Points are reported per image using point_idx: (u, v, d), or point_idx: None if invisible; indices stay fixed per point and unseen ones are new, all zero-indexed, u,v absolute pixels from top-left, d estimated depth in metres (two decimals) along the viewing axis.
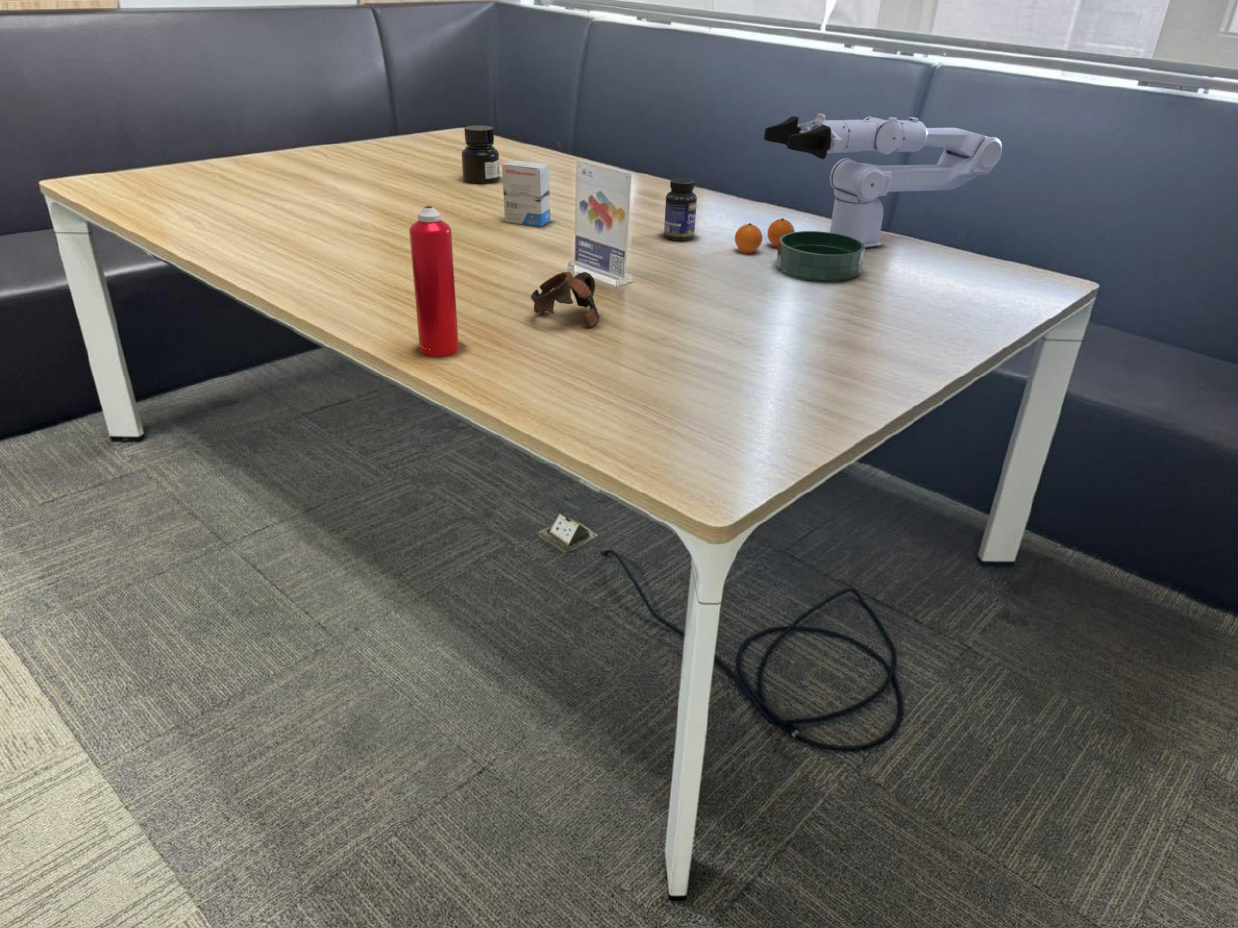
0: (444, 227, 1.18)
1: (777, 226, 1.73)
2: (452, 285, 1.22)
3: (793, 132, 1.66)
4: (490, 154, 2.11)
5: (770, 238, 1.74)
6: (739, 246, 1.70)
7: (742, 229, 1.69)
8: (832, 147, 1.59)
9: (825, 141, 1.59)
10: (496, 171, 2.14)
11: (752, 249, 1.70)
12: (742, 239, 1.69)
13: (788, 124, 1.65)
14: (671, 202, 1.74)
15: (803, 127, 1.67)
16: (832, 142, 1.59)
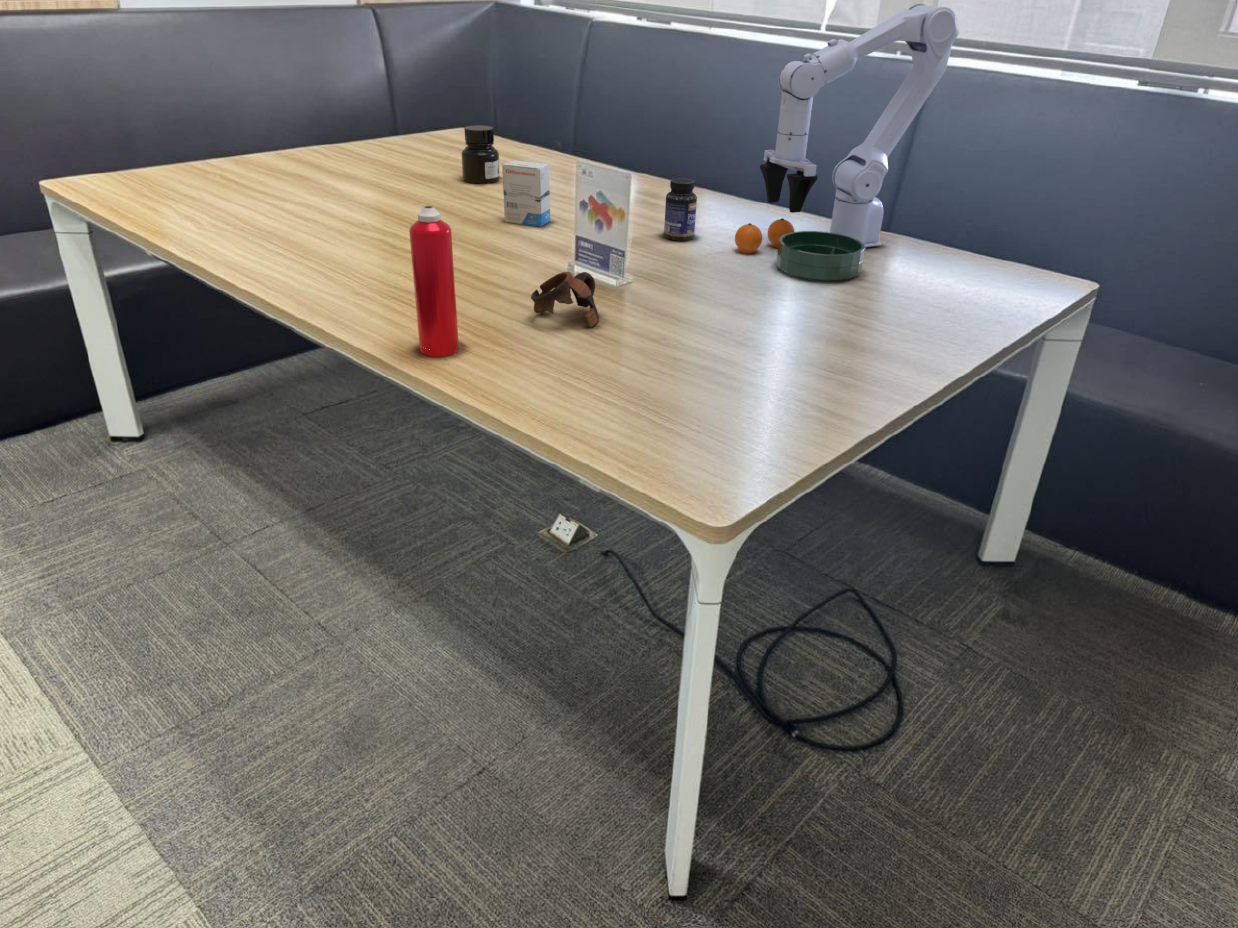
0: (444, 227, 1.18)
1: (777, 226, 1.73)
2: (452, 285, 1.22)
3: (775, 171, 1.72)
4: (490, 154, 2.11)
5: (770, 238, 1.74)
6: (739, 246, 1.70)
7: (742, 229, 1.69)
8: (811, 175, 1.63)
9: (803, 179, 1.64)
10: (496, 171, 2.14)
11: (752, 249, 1.70)
12: (742, 239, 1.69)
13: (768, 178, 1.72)
14: (671, 202, 1.74)
15: None
16: None
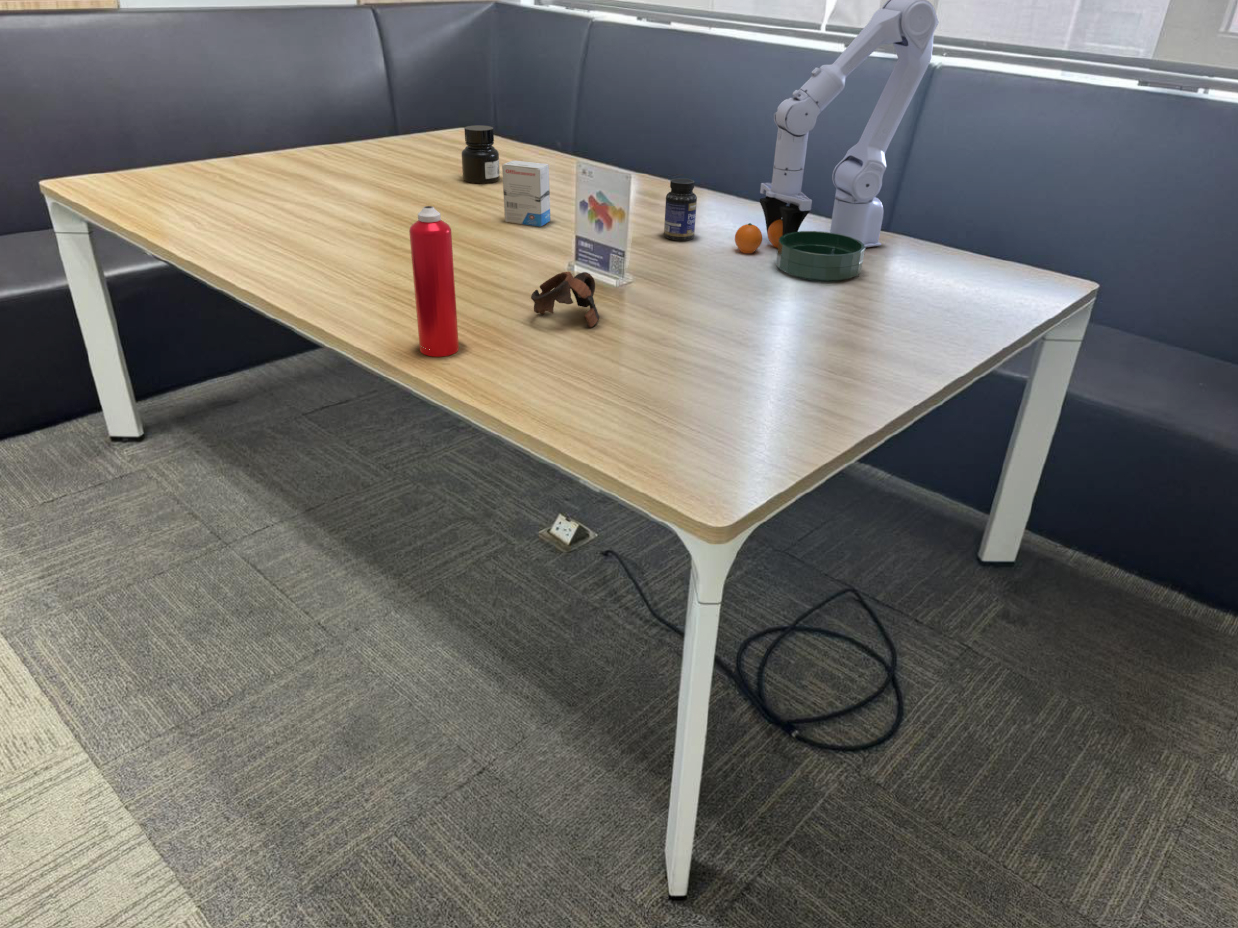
0: (444, 227, 1.18)
1: (777, 226, 1.73)
2: (452, 285, 1.22)
3: (775, 205, 1.74)
4: (490, 154, 2.11)
5: (770, 238, 1.74)
6: (739, 246, 1.70)
7: (742, 229, 1.69)
8: None
9: None
10: (496, 171, 2.14)
11: (752, 249, 1.70)
12: (742, 239, 1.69)
13: (768, 212, 1.74)
14: (671, 202, 1.74)
15: None
16: None
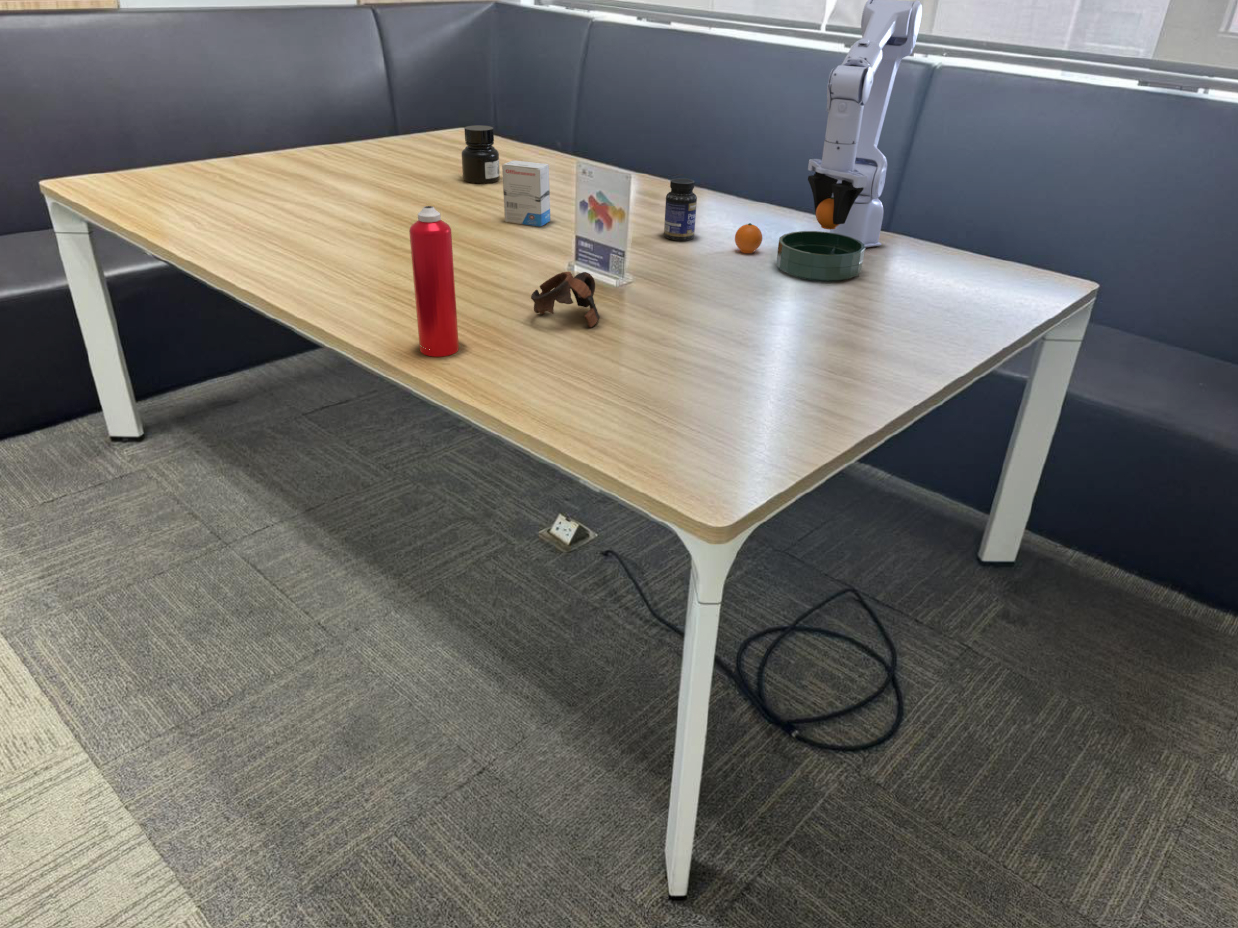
0: (444, 227, 1.18)
1: (827, 206, 1.59)
2: (452, 285, 1.22)
3: (824, 182, 1.61)
4: (490, 154, 2.11)
5: (819, 218, 1.61)
6: (739, 246, 1.70)
7: (742, 229, 1.69)
8: (861, 187, 1.53)
9: (849, 189, 1.55)
10: (496, 171, 2.14)
11: (752, 249, 1.70)
12: (742, 239, 1.69)
13: (817, 191, 1.61)
14: (671, 202, 1.74)
15: None
16: None
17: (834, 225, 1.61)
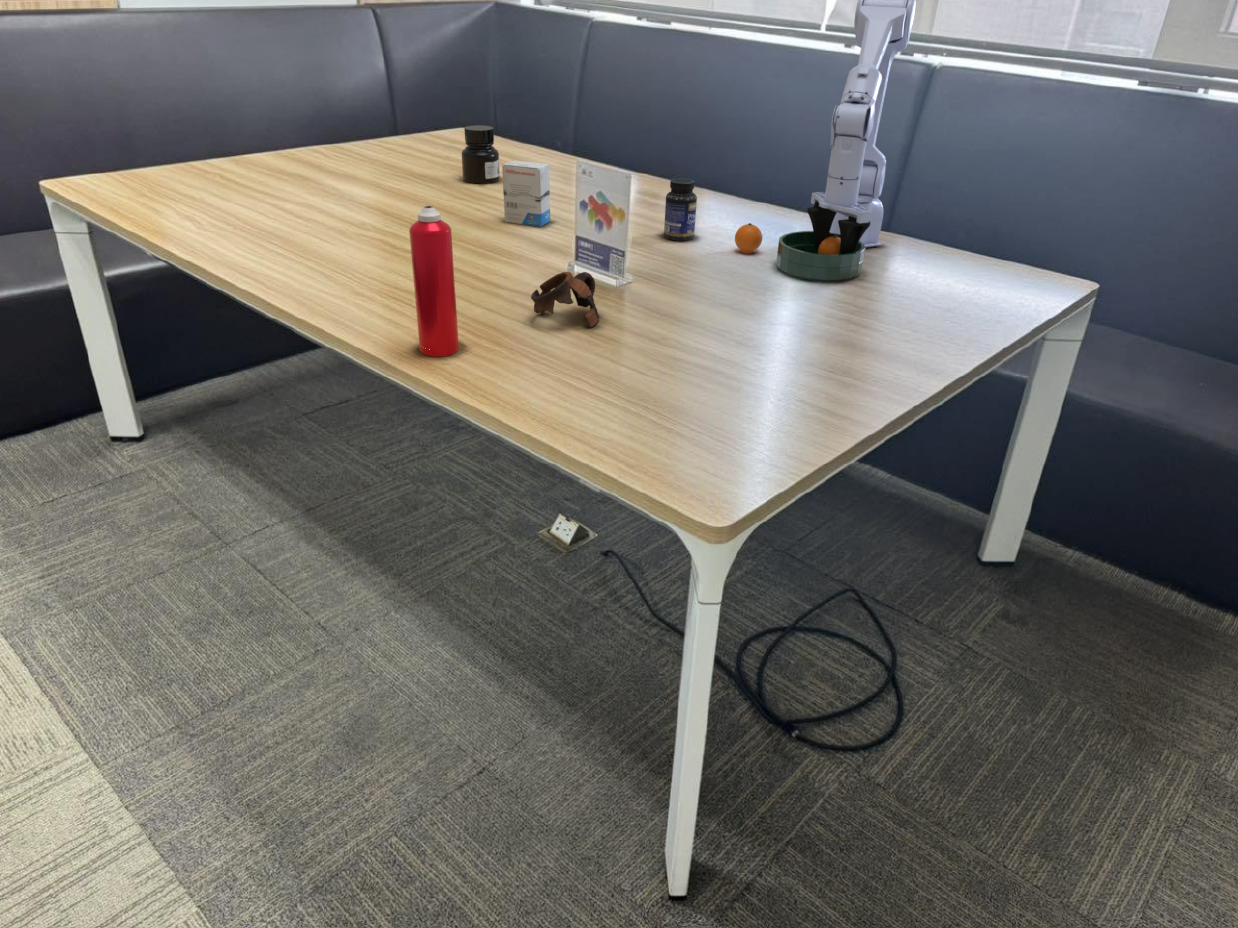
0: (444, 227, 1.18)
1: (829, 244, 1.61)
2: (452, 285, 1.22)
3: (824, 214, 1.63)
4: (490, 154, 2.11)
5: None
6: (739, 246, 1.70)
7: (742, 229, 1.69)
8: None
9: (856, 225, 1.56)
10: (496, 171, 2.14)
11: (752, 249, 1.70)
12: (742, 239, 1.69)
13: (817, 223, 1.63)
14: (671, 202, 1.74)
15: None
16: None
17: None
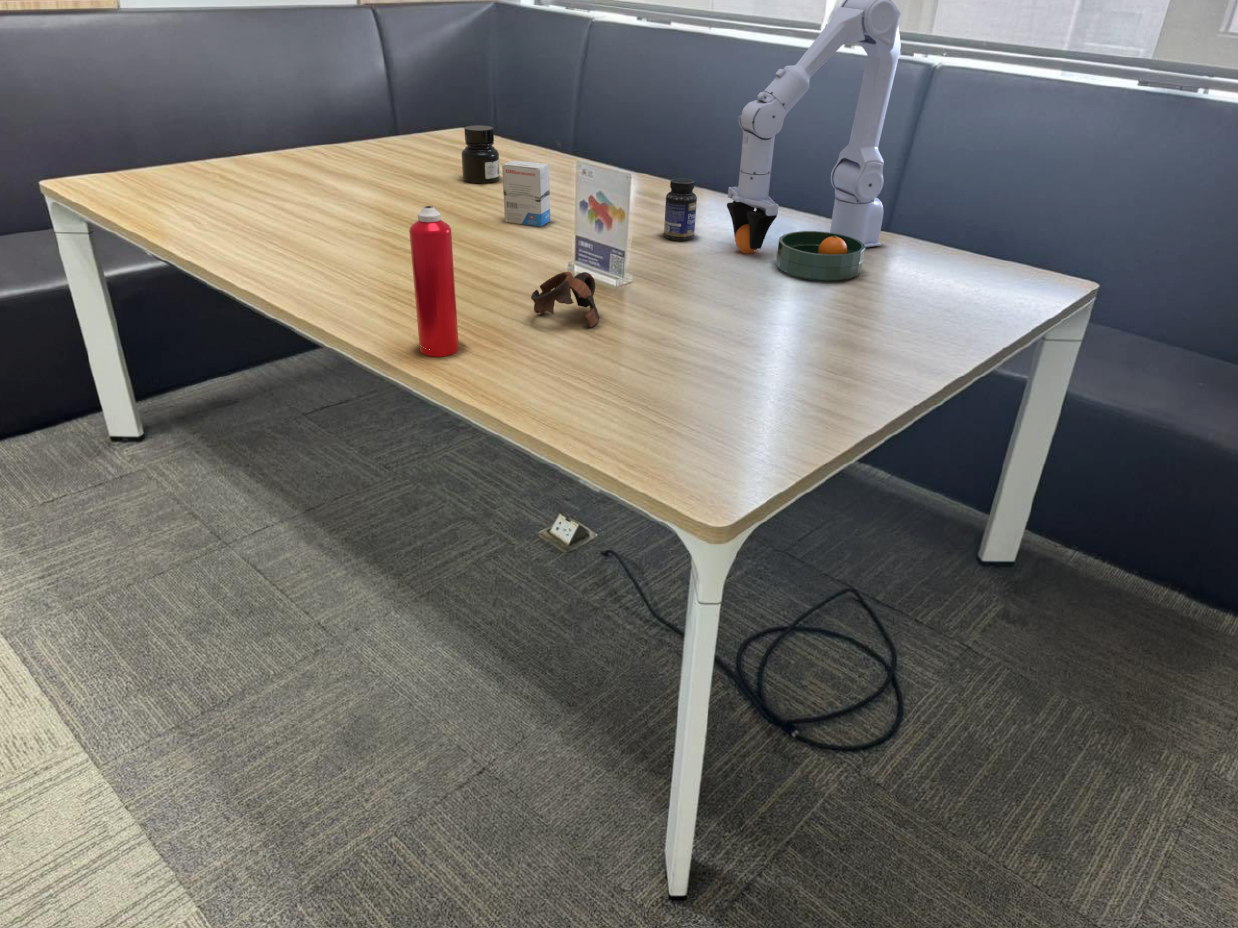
0: (444, 227, 1.18)
1: (829, 244, 1.61)
2: (452, 285, 1.22)
3: (742, 209, 1.71)
4: (490, 154, 2.11)
5: None
6: (739, 246, 1.70)
7: (742, 229, 1.69)
8: (773, 214, 1.63)
9: (763, 217, 1.65)
10: (496, 171, 2.14)
11: (752, 249, 1.70)
12: (742, 239, 1.69)
13: (735, 217, 1.71)
14: (671, 202, 1.74)
15: None
16: None
17: None
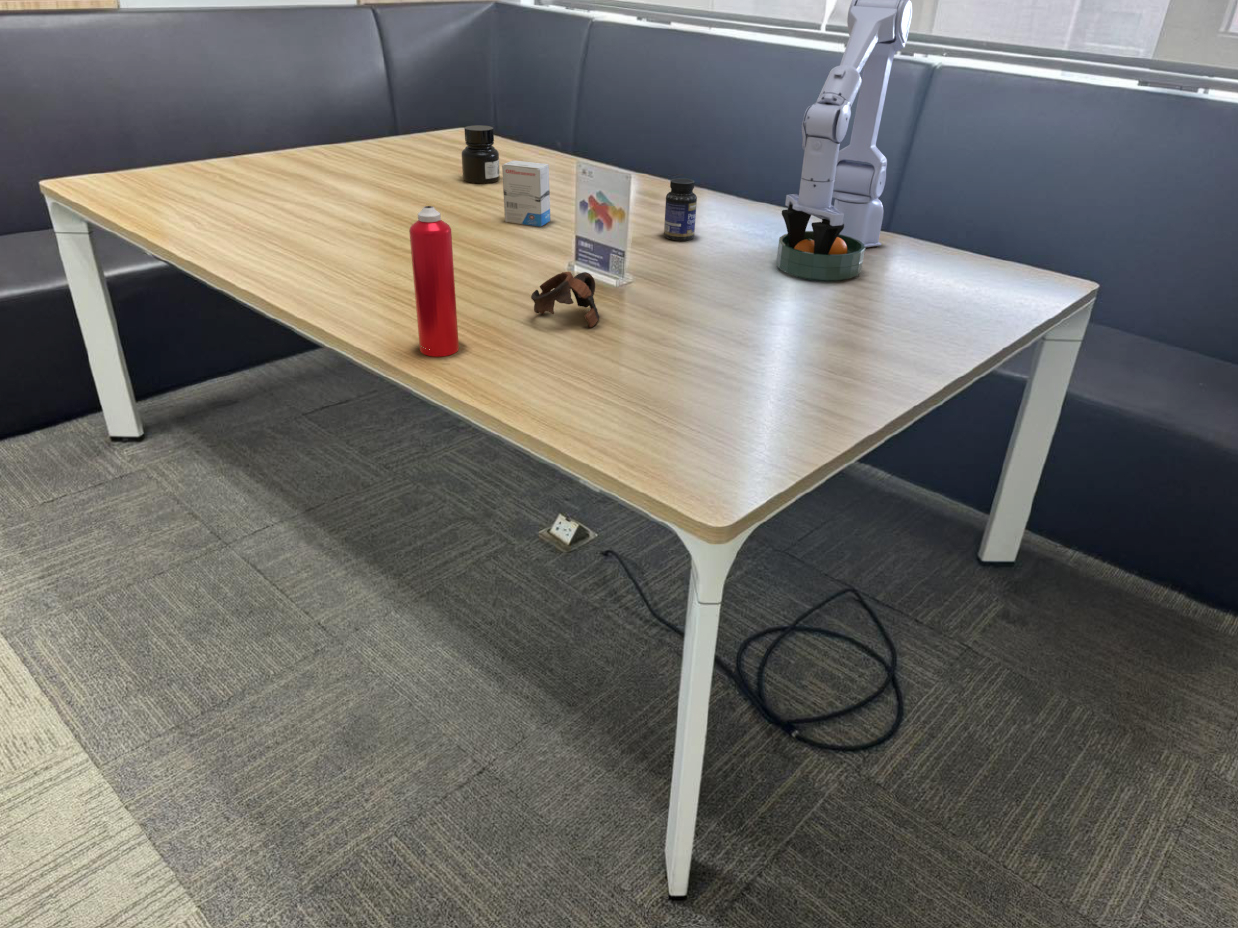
0: (444, 227, 1.18)
1: None
2: (452, 285, 1.22)
3: (798, 217, 1.61)
4: (490, 154, 2.11)
5: None
6: None
7: (801, 245, 1.59)
8: (838, 224, 1.52)
9: (829, 228, 1.53)
10: (496, 171, 2.14)
11: None
12: None
13: (791, 225, 1.61)
14: (671, 202, 1.74)
15: None
16: None
17: None
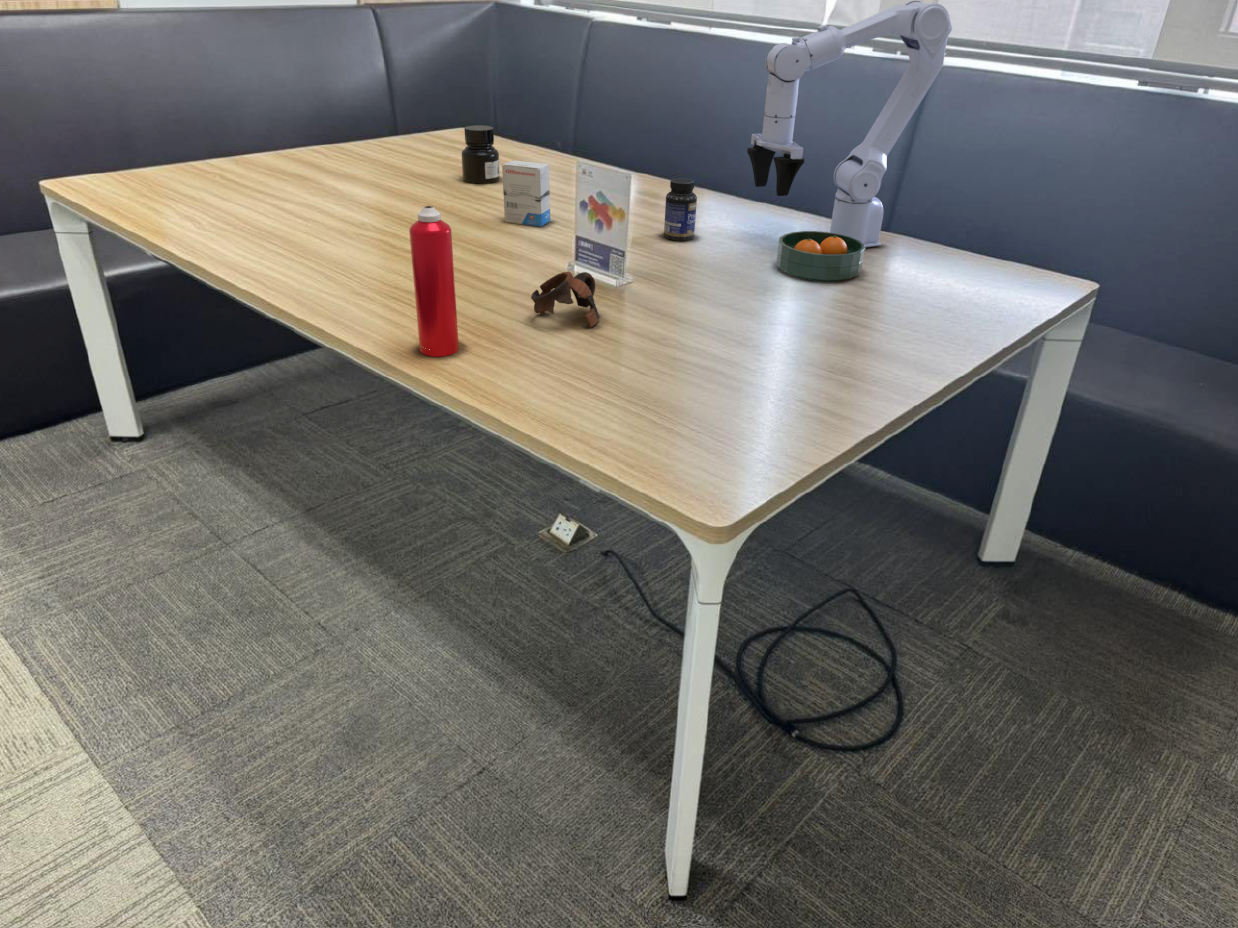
0: (444, 227, 1.18)
1: (829, 244, 1.61)
2: (452, 285, 1.22)
3: (763, 154, 1.72)
4: (490, 154, 2.11)
5: None
6: None
7: (801, 245, 1.59)
8: (798, 158, 1.63)
9: None
10: (496, 171, 2.14)
11: None
12: None
13: (756, 162, 1.72)
14: (671, 202, 1.74)
15: None
16: (794, 158, 1.63)
17: None
